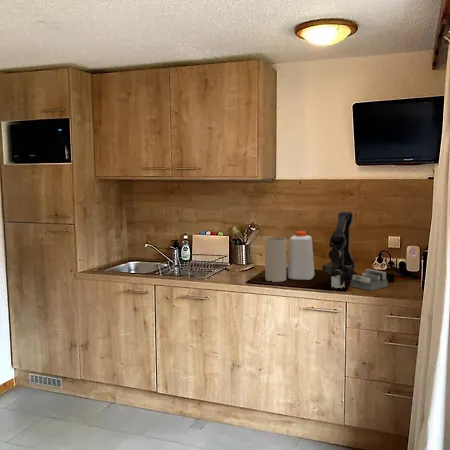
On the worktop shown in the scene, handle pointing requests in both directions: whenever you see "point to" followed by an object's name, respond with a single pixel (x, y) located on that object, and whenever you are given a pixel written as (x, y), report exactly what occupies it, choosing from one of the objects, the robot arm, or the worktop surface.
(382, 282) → the base
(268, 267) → the cylinder vase
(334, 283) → the block
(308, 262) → the plastic bottle
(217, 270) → the worktop surface
